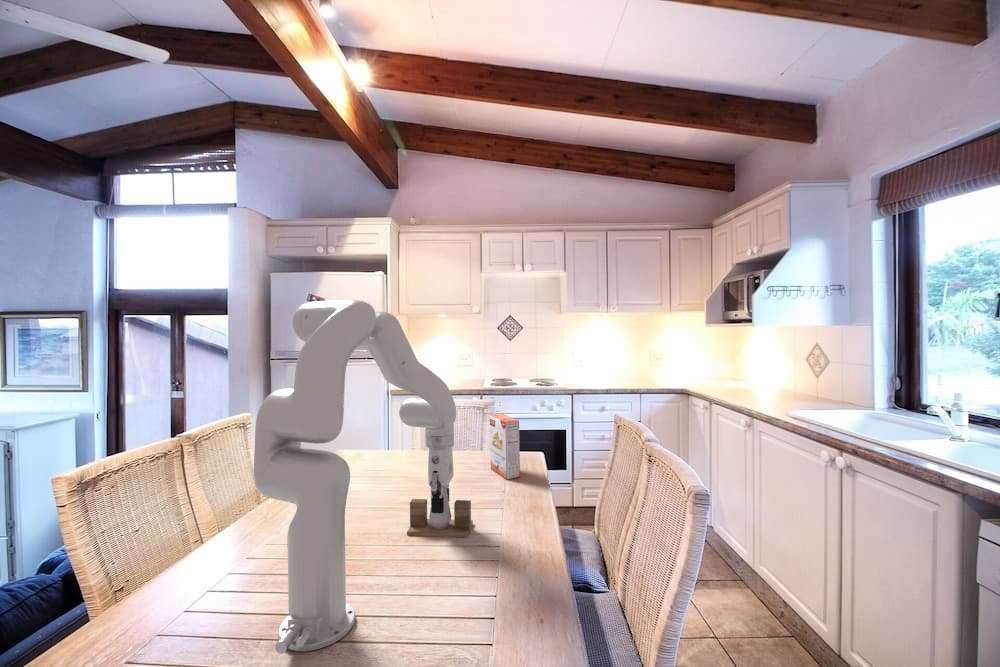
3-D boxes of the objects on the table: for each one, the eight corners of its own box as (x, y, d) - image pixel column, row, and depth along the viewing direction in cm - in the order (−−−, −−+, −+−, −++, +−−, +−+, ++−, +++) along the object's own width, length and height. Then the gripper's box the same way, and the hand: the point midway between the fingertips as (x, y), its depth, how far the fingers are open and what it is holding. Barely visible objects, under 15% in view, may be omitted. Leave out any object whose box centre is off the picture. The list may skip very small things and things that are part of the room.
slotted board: (467, 537, 113) (467, 508, 113) (406, 535, 114) (406, 506, 114) (472, 523, 121) (472, 496, 121) (415, 521, 122) (415, 494, 122)
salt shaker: (447, 532, 114) (447, 482, 113) (426, 529, 115) (426, 480, 115) (453, 522, 120) (454, 474, 119) (433, 520, 121) (434, 473, 120)
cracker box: (489, 469, 168) (489, 414, 168) (503, 467, 171) (503, 413, 170) (505, 480, 155) (504, 421, 155) (520, 478, 158) (520, 419, 158)
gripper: (446, 449, 108) (447, 522, 109) (459, 432, 126) (460, 495, 126) (416, 448, 109) (417, 520, 109) (434, 432, 126) (434, 495, 126)
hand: (440, 506), depth 118 cm, fingers open, 6 cm apart
